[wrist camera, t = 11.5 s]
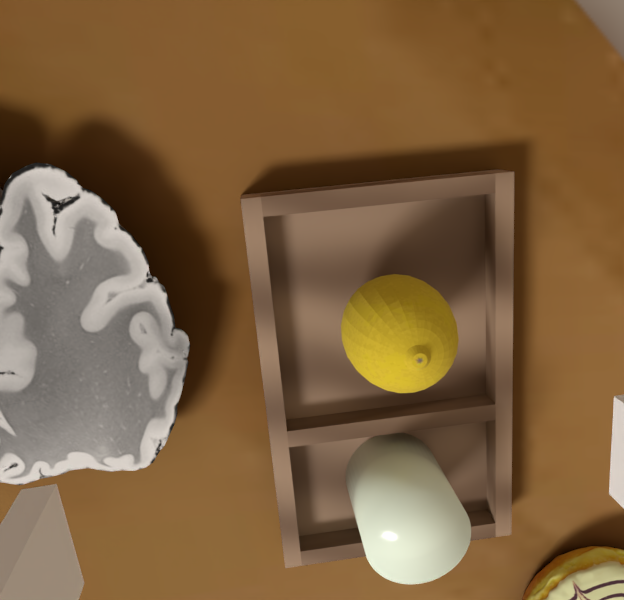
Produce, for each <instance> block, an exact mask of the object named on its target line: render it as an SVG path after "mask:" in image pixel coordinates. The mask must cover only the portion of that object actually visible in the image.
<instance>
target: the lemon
mask: <svg viewBox="0 0 624 600" xmlns="http://www.w3.org/2000/svg"><path fill="white" fill-rule="evenodd" d="M341 335H342V343H343V346H344V349H345V351H346V354H347V357H348V358H349V360H350V361H351V363H352V364H353V366H354V367H355V369H356V370H357V371H358V372H359V373H360V374H361V375H362V376H363V377H364V378H366V379H367V380H368V381H369V382H370V383H372V384H374V385H376V386H378V387H380V388H382V389H384V390H387V391H392V392H397V393H414V392H417V391H421V390H424V389H426V388H428V387H430V386H432V385H434V384H436V383H437V382H438V381H439V380H440V379H441V378H442V377H444V376H445V375H446V373H447V372H448V370H449V369H450V367H451V366H452V364H453V362H454V359H455V357H456V354H457V349H458V341H459V337H458V330H457V323H456V320H455V318H454V315H453V313H452V310H451V308H450V306H449V304H448V303H447V302H446V301H445V299H444V298H443V297H442V296H441V294H440V293H439V292H438V291H437V290H436V289H434V288H433V287H431V286H430V285H429V284H427V283H426V282H424V281H422V280H419V279H417V278H414V277H411V276H408V275H399V274H392V275H385V276H380V277H377V278H375V279H372V280H370V281H368V282H367V283H365V284H364V285H362V286H361V287H360V288H358V289H357V291H356V292H355V293H354V294H353V295H352V297H351V298H350V299H349V301H348V303H347V305H346V308H345V310H344V312H343V317H342V322H341Z"/></svg>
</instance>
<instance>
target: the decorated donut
mask: <svg viewBox="0 0 624 600" xmlns="http://www.w3.org/2000/svg"><path fill="white" fill-rule="evenodd" d="M522 600H624V550H622V549H617V548H613V547H607V546H602V547H599V546H590V547H585V548H580V549H576V550H573V551H571V552H568V553H566V554H561V555H559V556H557V557H556V558H555V559H554V560H553V561H552V562H551V563H549V564H548V565H547V566H545V567H544V568H543V569H542V570H541V571H540V572H539V573H538V574H537V575H536V576H535V577H534V579H533V580H532V581H531V583H530V584H529V586H528V588H527V590H526V591H525V593H524V596H523V598H522Z"/></svg>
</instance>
